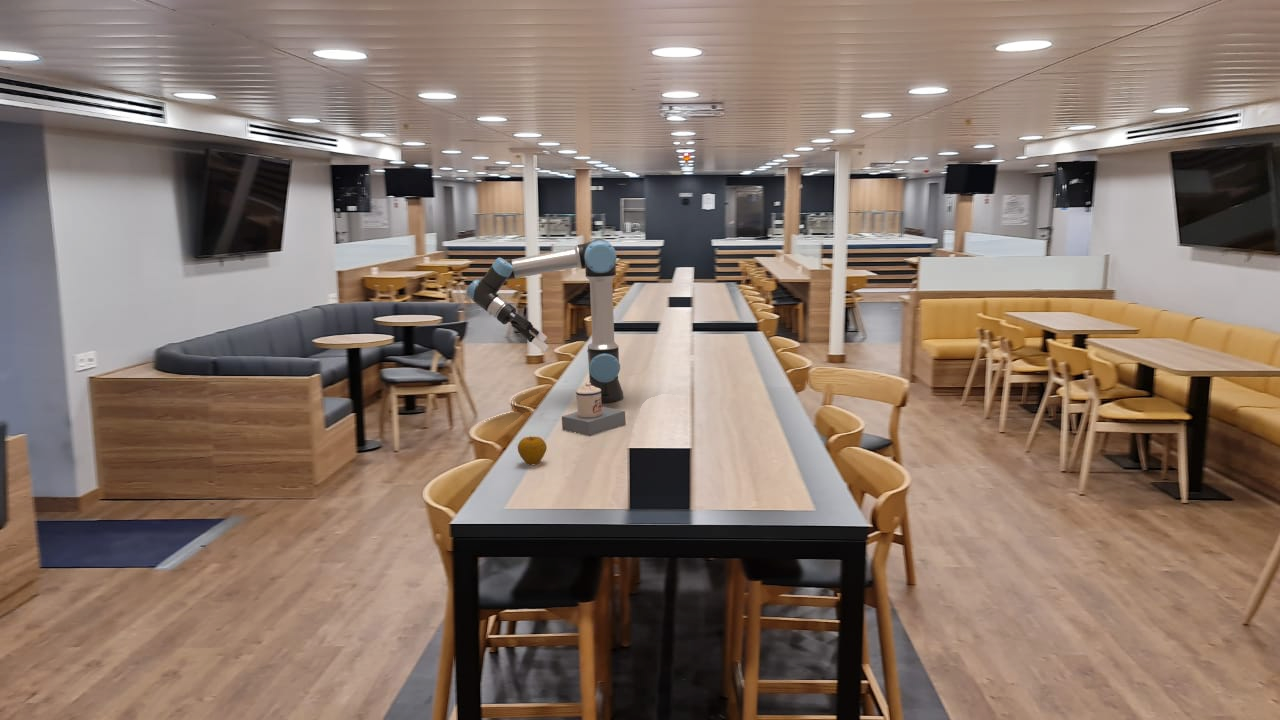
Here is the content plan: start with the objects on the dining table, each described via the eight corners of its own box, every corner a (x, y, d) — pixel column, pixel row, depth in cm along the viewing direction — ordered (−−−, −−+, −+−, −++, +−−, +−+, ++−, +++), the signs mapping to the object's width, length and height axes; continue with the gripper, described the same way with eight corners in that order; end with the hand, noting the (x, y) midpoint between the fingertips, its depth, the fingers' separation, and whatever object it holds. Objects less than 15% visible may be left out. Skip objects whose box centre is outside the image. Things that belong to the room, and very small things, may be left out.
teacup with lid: (597, 418, 308) (595, 386, 306) (573, 417, 311) (571, 385, 309) (609, 410, 319) (607, 378, 317) (586, 409, 322) (584, 378, 320)
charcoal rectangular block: (598, 418, 328) (597, 405, 327) (625, 424, 318) (624, 411, 317) (562, 429, 315) (561, 416, 314) (589, 436, 305) (588, 422, 304)
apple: (546, 458, 282) (544, 431, 281) (548, 466, 274) (546, 438, 272) (518, 460, 281) (516, 433, 279) (519, 469, 272) (517, 441, 270)
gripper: (499, 327, 344) (541, 360, 342) (492, 308, 320) (537, 343, 317) (511, 313, 346) (553, 345, 343) (505, 293, 322) (550, 327, 319)
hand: (546, 344), depth 330 cm, fingers open, 13 cm apart
